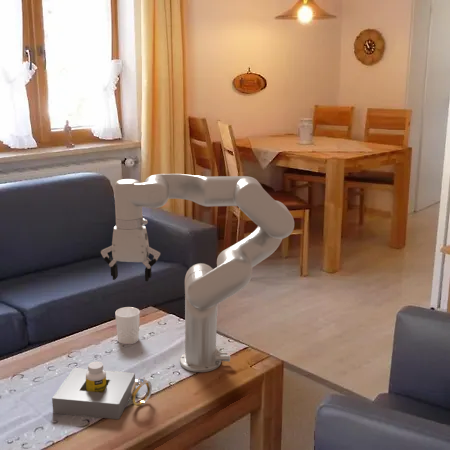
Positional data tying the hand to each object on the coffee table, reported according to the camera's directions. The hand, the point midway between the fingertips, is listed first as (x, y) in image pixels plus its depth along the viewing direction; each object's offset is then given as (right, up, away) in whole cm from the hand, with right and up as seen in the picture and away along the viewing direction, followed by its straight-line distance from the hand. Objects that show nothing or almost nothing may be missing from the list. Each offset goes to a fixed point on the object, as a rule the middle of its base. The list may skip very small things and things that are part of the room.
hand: (131, 278), depth 185 cm
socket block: (-8, -32, -11) cm, 35 cm away
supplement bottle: (-8, -32, -11) cm, 34 cm away
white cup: (-5, -22, +24) cm, 33 cm away
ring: (+5, -33, -13) cm, 36 cm away
